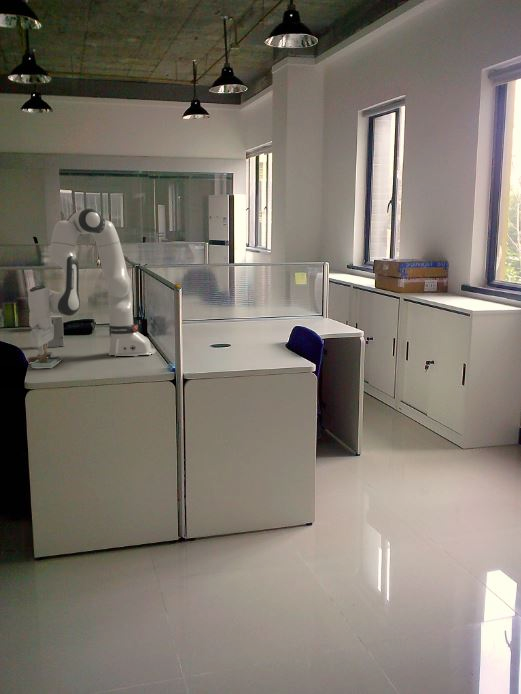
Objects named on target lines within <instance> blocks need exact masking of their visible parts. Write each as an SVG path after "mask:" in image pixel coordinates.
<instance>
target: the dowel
mask: <svg viewBox="0 0 521 694" xmlns="http://www.w3.org/2000/svg"><path fill="white" fill-rule="evenodd" d="M47 349H48V348H47ZM47 349H46V344H44V345H43V350H44V354H43V355H40V363H47Z"/></svg>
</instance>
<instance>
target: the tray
mask: <svg viewBox="0 0 521 694" xmlns="http://www.w3.org/2000/svg"><path fill="white" fill-rule="evenodd" d="M56 363H57V359H54V360H47V363H40V360H36V361H35V362H33V363H31V364H30V365H31V367H52V366H53V365H55V364H56Z"/></svg>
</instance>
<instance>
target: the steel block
mask: <svg viewBox="0 0 521 694" xmlns="http://www.w3.org/2000/svg"><path fill="white" fill-rule="evenodd" d="M36 356H40V354H39V353H37V355H36ZM51 356H53V352H52V351H51V352H50V351H48V352H47V357H51Z"/></svg>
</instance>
